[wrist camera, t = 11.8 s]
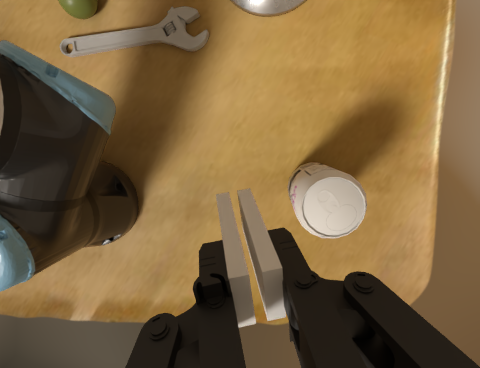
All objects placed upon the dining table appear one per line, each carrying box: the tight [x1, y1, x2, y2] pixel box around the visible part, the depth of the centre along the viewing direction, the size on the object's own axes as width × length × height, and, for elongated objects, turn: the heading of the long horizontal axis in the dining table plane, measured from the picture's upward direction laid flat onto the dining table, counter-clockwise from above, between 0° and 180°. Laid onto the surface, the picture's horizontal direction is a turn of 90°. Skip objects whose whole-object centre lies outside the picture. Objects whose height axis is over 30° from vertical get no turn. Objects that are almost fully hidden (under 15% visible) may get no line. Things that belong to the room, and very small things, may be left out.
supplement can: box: [288, 163, 367, 238], centre depth 37 cm, size 8×8×15 cm
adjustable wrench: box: [60, 6, 209, 57], centre depth 44 cm, size 25×6×2 cm, turn 91°
